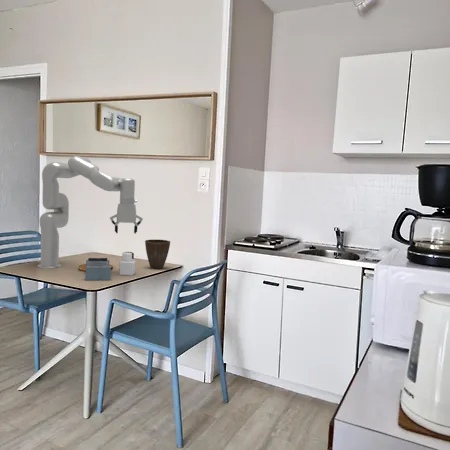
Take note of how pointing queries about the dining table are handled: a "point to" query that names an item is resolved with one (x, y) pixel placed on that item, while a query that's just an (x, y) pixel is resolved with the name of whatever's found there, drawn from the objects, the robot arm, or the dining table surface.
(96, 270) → the base
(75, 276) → the dining table surface
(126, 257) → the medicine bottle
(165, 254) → the plant pot
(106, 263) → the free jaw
